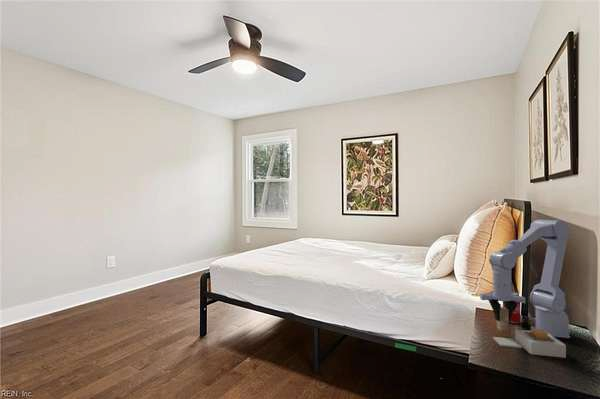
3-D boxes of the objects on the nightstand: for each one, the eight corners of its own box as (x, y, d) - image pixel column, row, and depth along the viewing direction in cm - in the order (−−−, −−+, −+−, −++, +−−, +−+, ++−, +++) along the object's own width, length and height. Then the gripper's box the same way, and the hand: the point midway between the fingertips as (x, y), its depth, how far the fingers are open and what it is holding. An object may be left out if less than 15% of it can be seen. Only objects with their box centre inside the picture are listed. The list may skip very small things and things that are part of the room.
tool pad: (512, 340, 107) (512, 338, 107) (521, 348, 101) (521, 346, 101) (493, 338, 109) (493, 336, 109) (501, 346, 102) (501, 344, 102)
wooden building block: (505, 328, 112) (504, 307, 112) (508, 331, 109) (508, 309, 109) (496, 327, 112) (496, 306, 112) (500, 330, 109) (499, 309, 110)
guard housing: (547, 343, 105) (546, 331, 105) (566, 357, 95) (565, 344, 95) (515, 340, 107) (515, 328, 107) (530, 354, 97) (530, 340, 97)
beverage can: (523, 324, 122) (523, 295, 122) (507, 323, 123) (506, 294, 124) (515, 319, 128) (515, 291, 128) (500, 317, 129) (500, 290, 130)
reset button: (541, 338, 102) (541, 329, 102) (547, 342, 99) (547, 333, 99) (530, 337, 103) (530, 328, 103) (536, 341, 100) (536, 332, 100)
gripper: (485, 285, 109) (485, 322, 108) (529, 288, 106) (530, 326, 105) (477, 280, 115) (478, 315, 115) (519, 283, 112) (520, 318, 112)
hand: (502, 320), depth 111 cm, fingers closed on wooden building block, 3 cm apart
